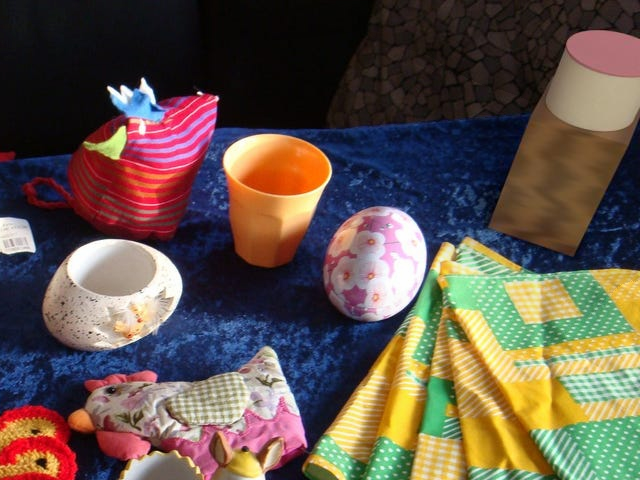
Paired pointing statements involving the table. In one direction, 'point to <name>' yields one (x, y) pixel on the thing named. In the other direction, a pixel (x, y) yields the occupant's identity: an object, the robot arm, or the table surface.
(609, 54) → the yogurt
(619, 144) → the brown piece
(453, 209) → the table surface
